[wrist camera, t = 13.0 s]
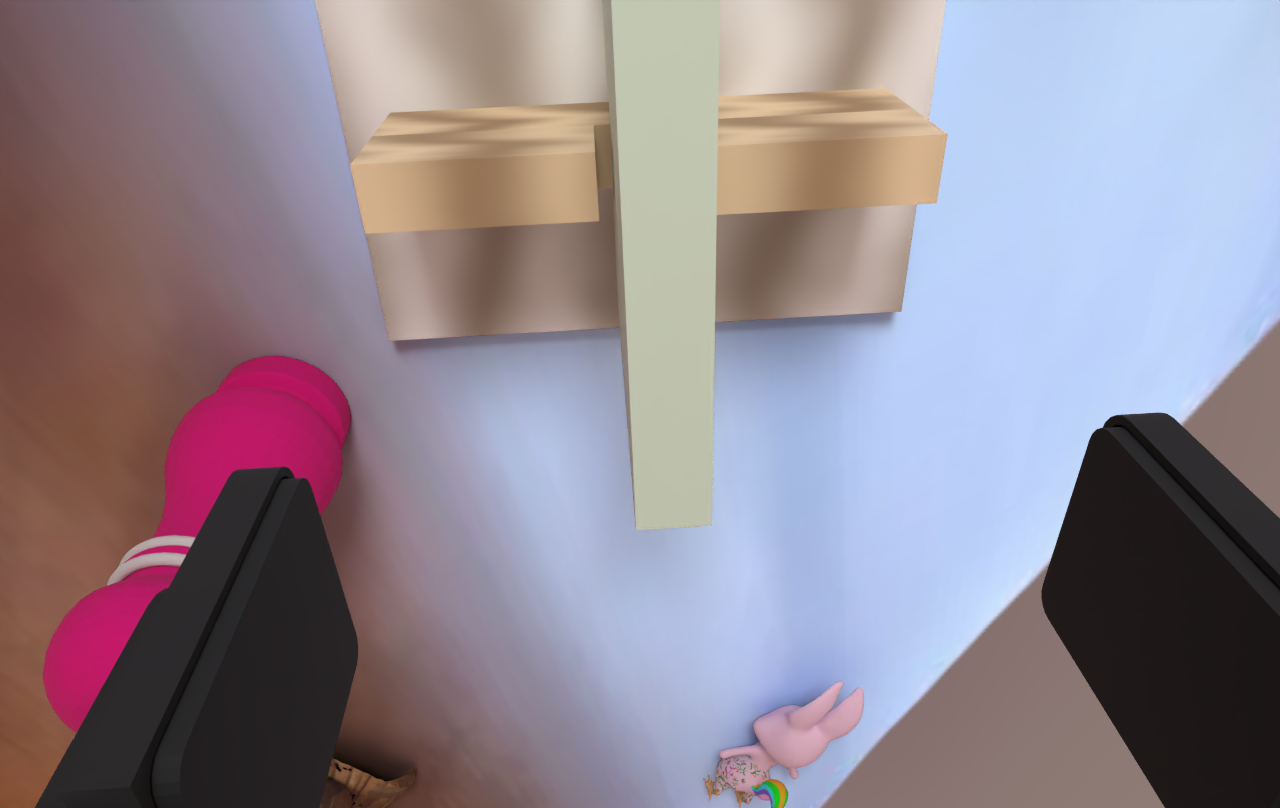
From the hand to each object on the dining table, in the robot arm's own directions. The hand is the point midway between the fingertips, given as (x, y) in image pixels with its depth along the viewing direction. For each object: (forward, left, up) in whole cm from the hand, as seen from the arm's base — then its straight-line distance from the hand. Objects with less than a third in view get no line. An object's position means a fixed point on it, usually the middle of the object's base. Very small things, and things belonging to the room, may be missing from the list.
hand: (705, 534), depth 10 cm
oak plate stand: (+1, -2, -29) cm, 29 cm away
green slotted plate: (+1, -2, -28) cm, 28 cm away
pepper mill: (-17, -15, -29) cm, 37 cm away
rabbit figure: (+9, -42, -29) cm, 52 cm away
